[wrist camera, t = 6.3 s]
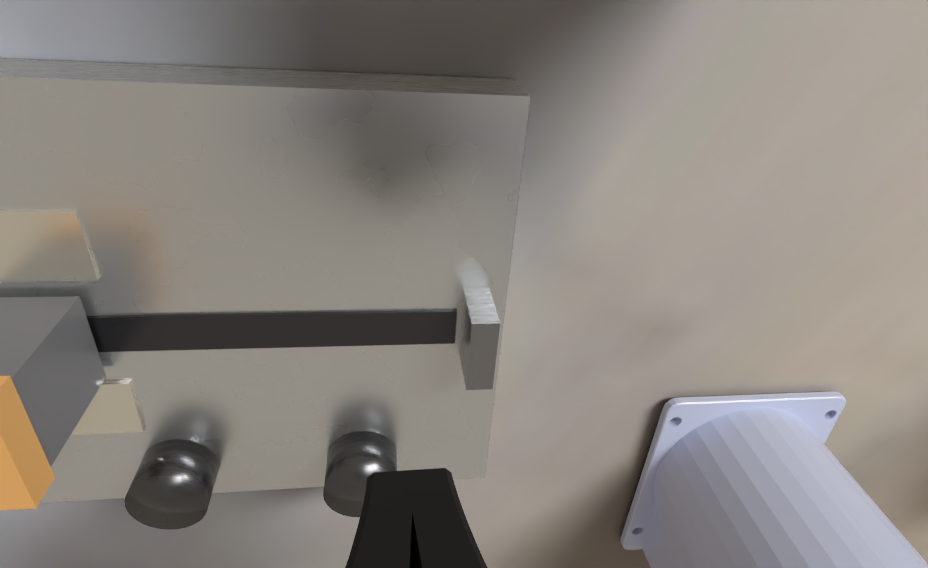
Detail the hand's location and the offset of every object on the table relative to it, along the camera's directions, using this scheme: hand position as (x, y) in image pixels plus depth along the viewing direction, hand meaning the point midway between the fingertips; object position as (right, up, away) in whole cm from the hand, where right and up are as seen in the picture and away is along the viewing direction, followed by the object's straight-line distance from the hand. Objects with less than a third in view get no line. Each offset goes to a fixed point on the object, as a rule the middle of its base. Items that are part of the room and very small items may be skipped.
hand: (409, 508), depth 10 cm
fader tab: (-11, +2, +6) cm, 12 cm away
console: (-7, +4, +8) cm, 11 cm away
